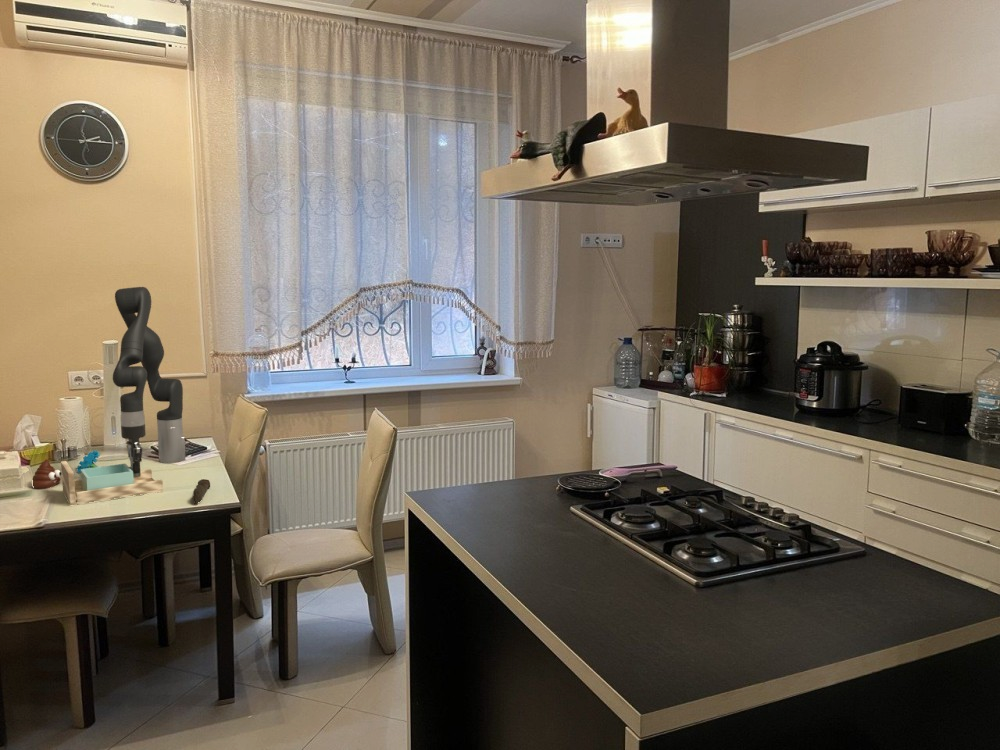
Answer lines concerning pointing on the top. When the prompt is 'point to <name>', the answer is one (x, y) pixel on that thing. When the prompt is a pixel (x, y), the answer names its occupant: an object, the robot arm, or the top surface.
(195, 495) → the dark brown lumpy rod
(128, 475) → the crate
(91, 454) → the gear
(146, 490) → the bay
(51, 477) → the poop emoji
